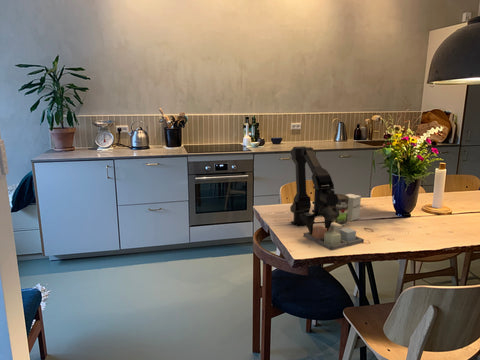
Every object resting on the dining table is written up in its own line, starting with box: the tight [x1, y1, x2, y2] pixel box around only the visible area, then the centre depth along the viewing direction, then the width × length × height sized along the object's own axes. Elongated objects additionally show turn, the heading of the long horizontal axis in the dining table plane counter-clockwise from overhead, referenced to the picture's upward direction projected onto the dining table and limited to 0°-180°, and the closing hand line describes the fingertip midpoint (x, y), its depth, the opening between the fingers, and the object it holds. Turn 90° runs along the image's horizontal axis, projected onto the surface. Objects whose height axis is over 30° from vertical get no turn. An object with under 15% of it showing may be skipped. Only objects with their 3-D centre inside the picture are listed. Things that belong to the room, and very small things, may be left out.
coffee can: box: [329, 193, 349, 227], centre depth 199 cm, size 10×10×14 cm
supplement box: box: [345, 193, 362, 222], centre depth 206 cm, size 7×7×13 cm
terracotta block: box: [311, 225, 327, 239], centre depth 178 cm, size 5×5×5 cm
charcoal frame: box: [303, 222, 365, 251], centre depth 177 cm, size 19×19×5 cm
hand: (319, 232), depth 178 cm, fingers open, 9 cm apart
